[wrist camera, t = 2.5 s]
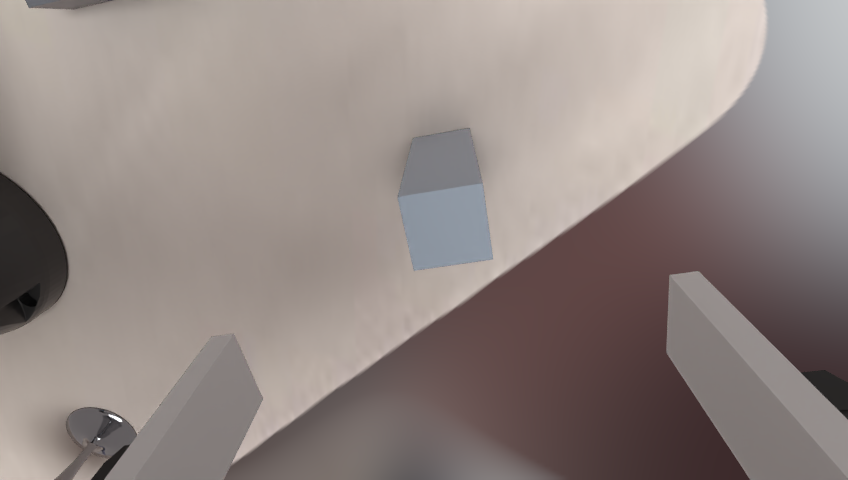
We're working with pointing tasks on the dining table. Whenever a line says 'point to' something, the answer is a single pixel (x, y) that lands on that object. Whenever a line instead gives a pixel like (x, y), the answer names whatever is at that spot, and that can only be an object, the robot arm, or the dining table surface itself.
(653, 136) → the dining table surface
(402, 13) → the dining table surface
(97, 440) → the wine glass
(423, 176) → the plug
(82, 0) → the socket block
